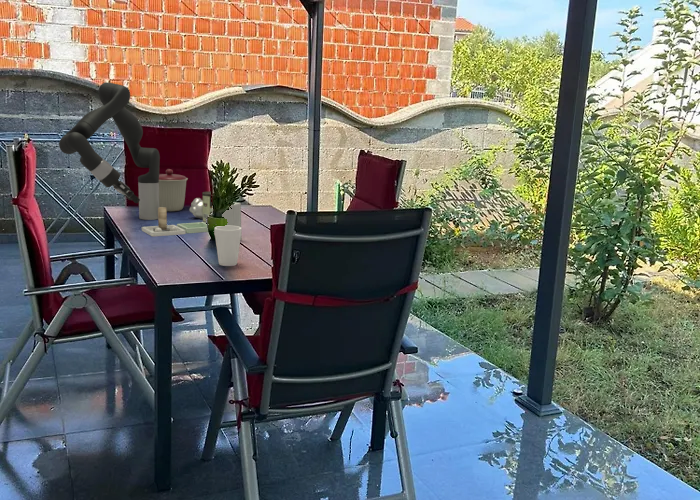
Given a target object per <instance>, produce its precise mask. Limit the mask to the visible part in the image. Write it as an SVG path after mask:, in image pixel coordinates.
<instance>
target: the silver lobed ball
mask: <svg viewBox="0 0 700 500" xmlns="http://www.w3.org/2000/svg"><path fill="white" fill-rule="evenodd" d="M190 205H191V206H190V207H189V212H190V213H191V214H192V216H193V217H195V218H196V219H200V220H201V219H202V220H203V199H202V198H200V197H196V198H194V199H193V201H192V202H191V204H190Z"/></svg>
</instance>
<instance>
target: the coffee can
mask: <svg viewBox="0 0 700 500" xmlns="http://www.w3.org/2000/svg"><path fill="white" fill-rule="evenodd" d="M202 201H203V218H202V222H204V223H206V218H207V216H208V215H210V214H211V213H212V211H213V209H212V202H211V191H209V190H208V191H203V192H202Z"/></svg>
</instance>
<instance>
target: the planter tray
mask: <svg viewBox="0 0 700 500" xmlns="http://www.w3.org/2000/svg"><path fill="white" fill-rule="evenodd" d="M176 226H177V227H179V228H181V229H183V230H185V233H186V234H198V233H209V232H208V228H207V224H206V223H204V222H203V221H202V222H199V221H198V222H188V223H187V222H183V223H177V224H176Z"/></svg>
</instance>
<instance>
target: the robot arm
mask: <svg viewBox="0 0 700 500" xmlns="http://www.w3.org/2000/svg"><path fill="white" fill-rule="evenodd" d="M98 98H99V101H100V102H101V104H102V106H99V107H98V108H95V109H93V110H90V111H89V112H87V113H86V114H85V115H83V116H82V118H81V119H79V121H78V122H77V123H76V125H74V126H73V128H71V129H70V130H68V131H67V132H66V133H65V134H64V135H63V136H62V137H61V138H60V140H59V143H58V147H59V149H60V151H61V152H62V153H64V154H65V155H72V154H75V153H78V155H79V157H80V158H79V162H80V164H81V165H82V166H83V167H84V168H86V169H87V170H88V171H89V172H90V173H91V174H92V176H93V177H94V178H96V179H97V180H98V181H99V182H100V183H101V184H102V185H104V186H105V187H106V188H111V187H113V189H114V190H115V191H117V192H118V193H119V194H121V195H123V196H124V197H125V198H126V199H128V201H133V203H134V204H138V209H139V210H138V215H139V217H138V219H140V220H146V221H148V220H149V221H151V220H152V221H153V220H155V221H156V220H158V208H159V175H160V163H161V162H160V159H161V156H160V152H159V150H158V149H157V148H154V147H141V145H140V142H141V140H142V138H143V134H144V130H143V127H142V125H141V123H140V121H139V119H138V118H137V117H136V115H135V114H134V113H132V112H131V111H130V110H128V109H127V108H126V106H128V104H129V102H130V99H131V92H130V89H129V88H128V87H127V86H125V85H122V84H118V83H113V82H103V83H102V84H100V86H99V87H98ZM111 118H112V119H113V122H114V123H115V125H116V127H117V129H118V130H119V133H120V135H121V136H122V138H123V139H124V142H125V143H126V145H127V147H128V149H129V152H130V154H131V157H132V160H133V162H134V164H135V165H136V166H137V167H138V168H147V169H148V172H146V173H145V174H141V175H139V176H138V177H137V181H138V182H137V183H138V184H137V185H138V196H137V195H135V194H134V191H133V190H131V189H130V187H129V186H128V185H127V184H125V182H124V181H121V180H119V179H120V178H121V173H120V172H119V171H118V170H117V169H116V168H114V166H112V165H111V163H109V162H108V161H106V160H105V159H104V158H103V157H102V156H100V155H99V153H97V152H96V151H95V150H94V147H93V146H92V145H91V143H90V142H89V141H88V139H90V138H91V137H92V136H94V134H95V133H96V132H97V131H98V130H99V129H100V127H101V126H103V125H104V124H105V123H106V122H107V121H109V120H110V119H111Z"/></svg>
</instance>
